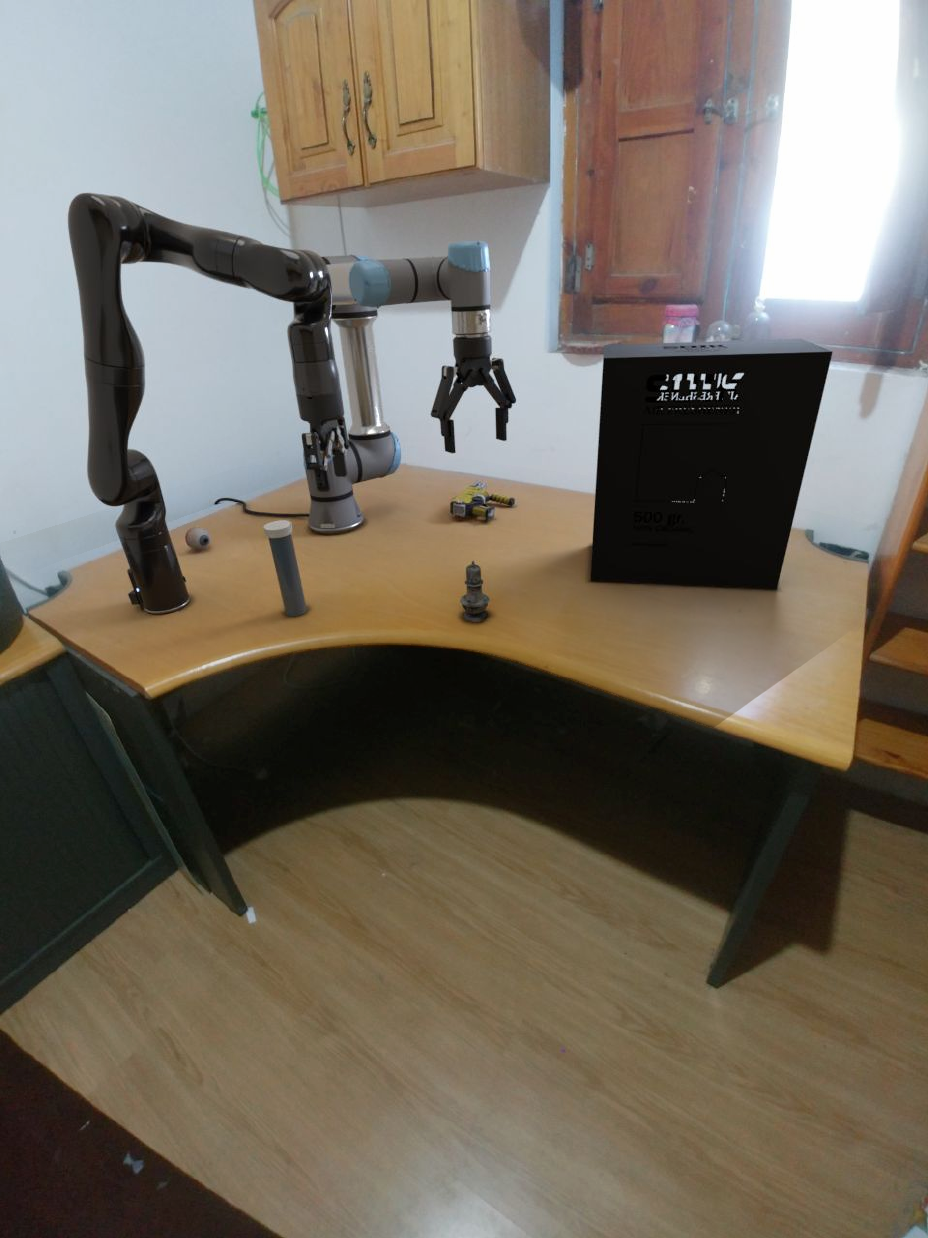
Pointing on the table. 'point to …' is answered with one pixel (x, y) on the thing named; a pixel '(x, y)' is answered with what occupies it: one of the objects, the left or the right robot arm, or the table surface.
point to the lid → (278, 529)
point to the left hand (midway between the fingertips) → (333, 483)
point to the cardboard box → (703, 460)
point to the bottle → (288, 575)
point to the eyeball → (197, 538)
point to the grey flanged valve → (474, 595)
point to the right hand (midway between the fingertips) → (476, 445)
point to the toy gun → (477, 502)
